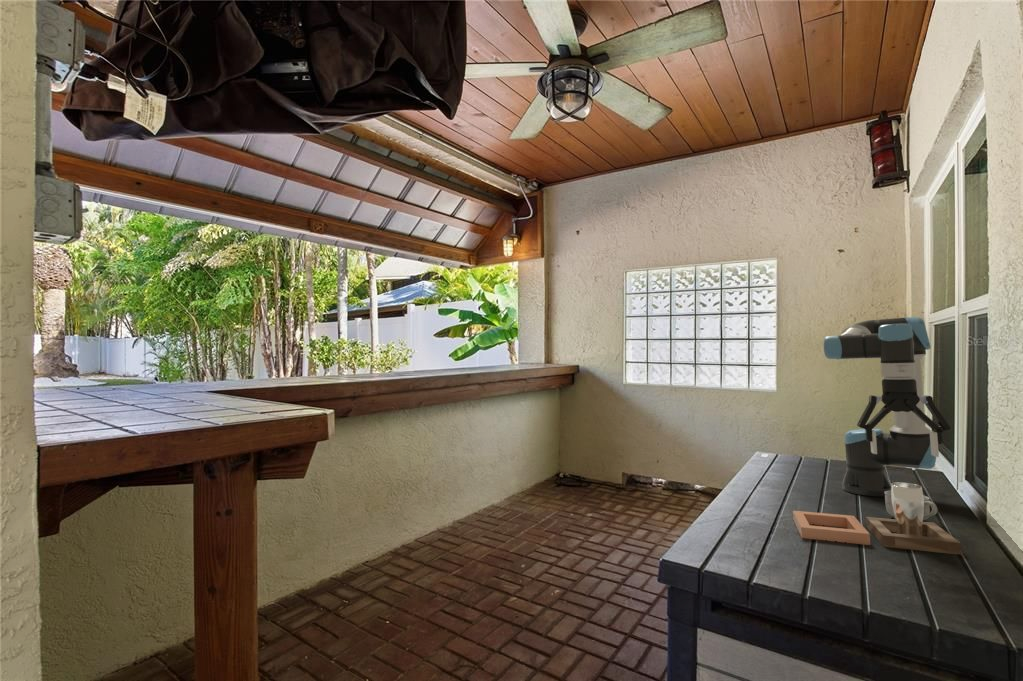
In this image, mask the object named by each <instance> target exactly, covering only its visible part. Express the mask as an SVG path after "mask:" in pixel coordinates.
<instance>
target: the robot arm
mask: <svg viewBox="0 0 1023 681" xmlns="http://www.w3.org/2000/svg"><path fill="white" fill-rule="evenodd" d="M927 350H931V343H930V338H929V336H928V331H927V327H926V324H925V320H924V319H923V318H921V317H916V316H914V317H913V316H911V317H906V316H905V317H895V318H884V319H880V318H879V319H868V320H864V321H860V322H856V323H854V324H851V325H849V326H846V327H845V328H844V329H843V330H842V331H841V333H840V335H829V336H824V338H823V352H824V353H823V354H824V356H825V358H826V359H829V360H845V359H846V360H850V359H854V360H855V359H880V375H881V377H882V378H883V379H882V380H881V387H882V388H881V390H882V395H881V396H877V395H871V394H870V395H869V397H868V404H867V405H866V407H865V409H864V411H863V413H862V415H861V416H860V418H859V420H858V421H857V424H856V425H857V427H859V429H851V430H848V431H846V432H845V434H844V446H845V462H846V470H845V474H844V476H843V479H842V490H843V491H845V492H848V493H851V494H854V495H859V496H860V495H862V496H867V497H868V496H869V497H885V493H884V492H885V491H891V482H890V480H889V477H888V475H887V474H886V473H887V472H886V468H885V467H886V466H889V467H902V468H911V469H917V470H918V469H920V470H921V469H923V470H924V469H926V470H931V469H933V468H935V466H936V462H937V461H936V460H937V457H940V455H939V453H940V452H939V445H942V443H943V435H942V433H943V432H944V431H951V426H950V425H949V424H948V422H947V421H946V419H945V417H944V416H943V415H942V413H941V412H940V411H939V409H938V408H937V407H936V406H937V405H935V403H934V399H933V398H934V397H933V396H931V395H926V394H925V395H924V388H923V376H922V374H923V373H922V361H921V359H923V358H924V357H926V354H927V353H926V352H927ZM880 402H882V404H884V405H883V406H882V408H881V409H880V410H879V412H877V413H876V414H875V415H874V416H873V417H872V418H871V419H870V417H871V415H872V413H873V412H874V410H875V408H876V406H877V404H879V403H880ZM925 407H926V408H927V409H928V411H929V413H930V414H931V415H932V417H933V418H934V419H935V421H936V422H937V423H936V422H934V421H933V420H932V419H931V418H930V417H929V416H928V415H926V413H925ZM891 412H893V424H894V425H892V426H891V427H890V428H889V433H885V432H884V431H883V430H882V429H881V428H875V427H876V426H877V425H878V424H879V423H880V422H881V421H882V420H883V419H884V418H886V416H887V415H888V414H890V413H891ZM869 419H870V420H869ZM927 426H928V427H929V428H928V427H927ZM860 428H861V429H860Z"/></svg>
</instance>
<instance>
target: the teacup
mask: <svg viewBox="0 0 1023 681" xmlns="http://www.w3.org/2000/svg"><path fill="white" fill-rule="evenodd" d="M884 493H885V496H884V502H885V509H886V511H887V513H888V514H889V515H890V516H892V518H893V519H896V517H895V514H894V510H893V506H892V500H891V491H885V492H884ZM923 498H924V514H923V521H922V522H925V521H926V520H928V519H929V518H930V517H933V516H936V514H937V513H938V507H937V504H935V502H933V501H931V498H930V497H928V496H926V495H924V494H923ZM930 508H931V511H930Z"/></svg>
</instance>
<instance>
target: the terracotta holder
mask: <svg viewBox="0 0 1023 681" xmlns="http://www.w3.org/2000/svg"><path fill="white" fill-rule="evenodd" d="M792 517H793V518H792V520H794V521H793V522H794V525H795V526H796V528H797V531H798V533H799V535H800V537H801V538H802V539H806V540H807V539H809V540H817V539H818V540H817V541H826V540H827V542H835V541H837V542H839V543H845V542H846V543H845V544H856V545H857V544H858V545H864V546H871V534H870V532H869V530H868V529H866V528H865V527H864V525H862V523H860V521H859V520H858V519H857V518H856V517H855V515H849V514H848V515H847V514H836V513H825V512H812V511H803V510H802V511H801V510H800V511H799V510H792ZM813 524H814V525H813ZM823 525H824V526H823ZM837 542H836V543H837Z"/></svg>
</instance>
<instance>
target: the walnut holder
mask: <svg viewBox="0 0 1023 681" xmlns="http://www.w3.org/2000/svg"><path fill="white" fill-rule="evenodd" d="M865 523H866V525H865V526H866V528H867V530H868V531H869V532H870V533H871V534H872V535H873V536H874V537H875V538H876V539H877V541H878V542H879V543H880V544H881V545H882V546H883V547H884V548H885V547H886V548H894V549H902V550H903V549H905V550H914V551H919V552H920V551H923V552H933V553H942V554H950V555H958V554H959V555H960V556H962V554H963V553H962V543H961V542H960V541H959V540H958V539H956V538H955V537H953V536H952V534H950V533H948V532H947V531H946V530H945V529H943V528H942V527H940V526H939V525H938V524H936V523H935V522H931V521H923V522H922V533H923V536H916V535H905V534H896V532H897V521H896V519H895V518H893V519H892V518H883V517H871V516H865Z"/></svg>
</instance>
